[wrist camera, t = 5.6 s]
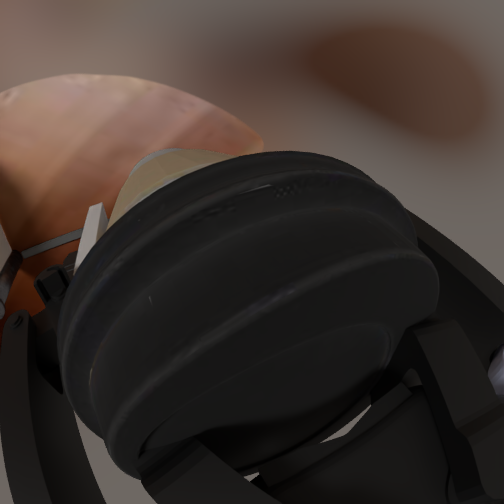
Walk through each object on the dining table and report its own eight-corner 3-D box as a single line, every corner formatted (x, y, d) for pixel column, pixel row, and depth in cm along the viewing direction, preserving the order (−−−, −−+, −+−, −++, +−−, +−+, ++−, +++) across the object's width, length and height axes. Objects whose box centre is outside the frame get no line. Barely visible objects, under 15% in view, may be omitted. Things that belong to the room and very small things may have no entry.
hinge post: (12, 270, 26) (-9, 322, 18) (2, 251, 25) (-24, 300, 16) (28, 264, 27) (9, 316, 19) (19, 244, 26) (-6, 292, 17)
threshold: (24, 257, 27) (24, 258, 26) (21, 251, 26) (21, 252, 26) (113, 225, 31) (112, 226, 31) (110, 218, 31) (110, 219, 30)
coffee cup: (256, 214, 20) (423, 365, 8) (145, 281, 19) (217, 496, 7) (206, 92, 14) (479, 105, 3) (68, 172, 13) (-45, 421, 1)
